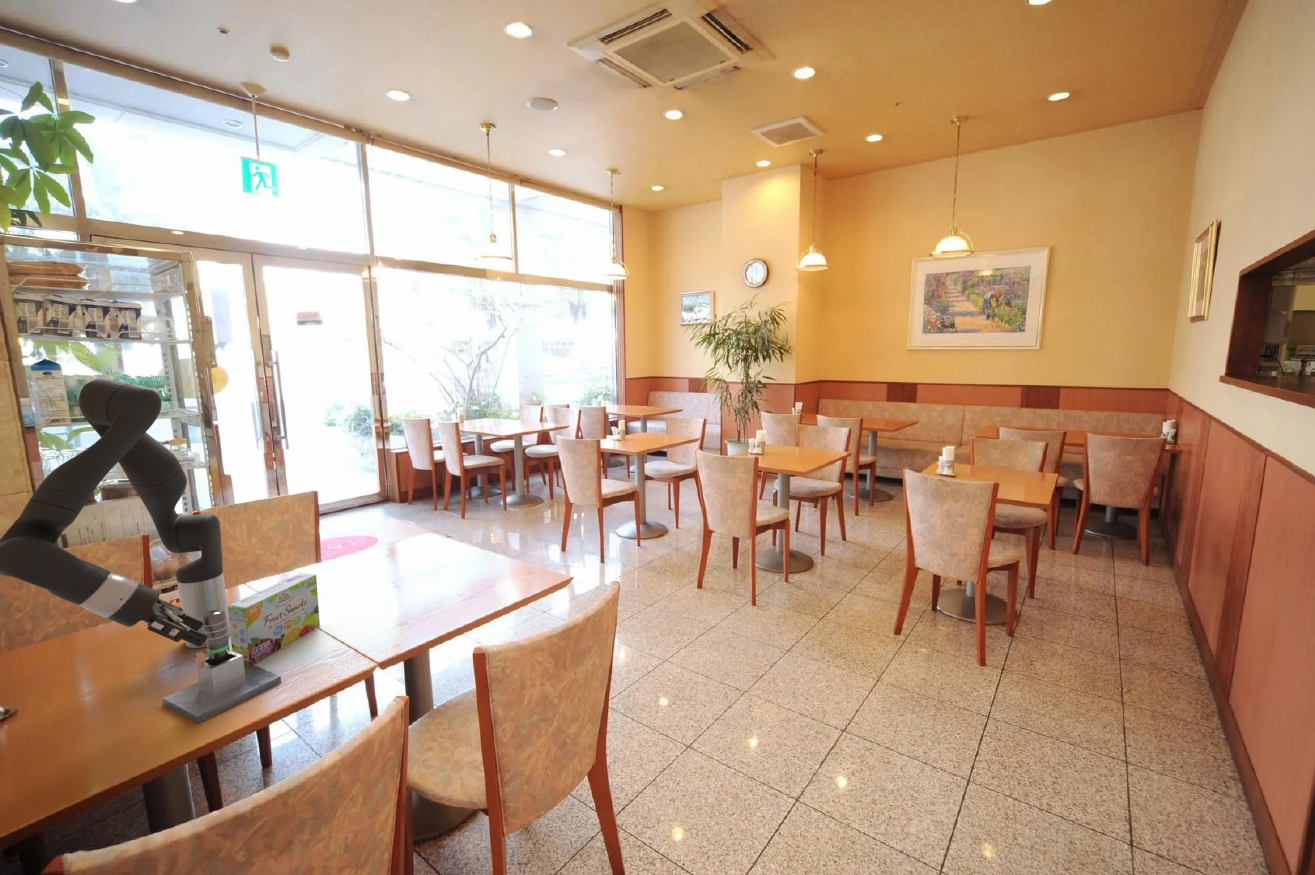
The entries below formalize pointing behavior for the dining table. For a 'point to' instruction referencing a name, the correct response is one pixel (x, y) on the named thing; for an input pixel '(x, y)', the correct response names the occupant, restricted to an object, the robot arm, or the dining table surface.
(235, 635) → the snack box
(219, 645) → the grey round-topped cylinder
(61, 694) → the dining table surface
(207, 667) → the grey square socket base
